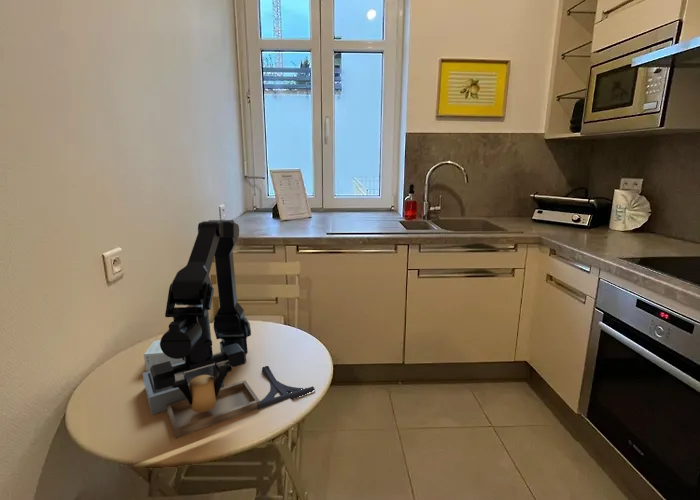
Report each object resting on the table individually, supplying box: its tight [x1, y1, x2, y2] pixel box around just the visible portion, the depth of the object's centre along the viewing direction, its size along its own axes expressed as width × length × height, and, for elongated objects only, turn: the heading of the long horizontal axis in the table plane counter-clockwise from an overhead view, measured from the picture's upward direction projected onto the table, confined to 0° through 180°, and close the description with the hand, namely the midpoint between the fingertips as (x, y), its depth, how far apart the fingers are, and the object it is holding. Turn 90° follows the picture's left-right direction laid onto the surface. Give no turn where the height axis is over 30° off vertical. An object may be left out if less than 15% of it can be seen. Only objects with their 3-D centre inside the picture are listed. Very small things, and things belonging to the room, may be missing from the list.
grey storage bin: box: [142, 361, 225, 415], centre depth 98 cm, size 16×12×5 cm
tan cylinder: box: [189, 375, 216, 413], centre depth 88 cm, size 5×5×6 cm
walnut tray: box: [166, 380, 261, 439], centre depth 90 cm, size 18×10×2 cm, turn 123°
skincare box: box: [143, 339, 184, 372], centre depth 110 cm, size 8×6×15 cm
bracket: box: [257, 365, 316, 410], centre depth 100 cm, size 14×15×3 cm
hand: (203, 399), depth 88 cm, fingers closed on tan cylinder, 5 cm apart
